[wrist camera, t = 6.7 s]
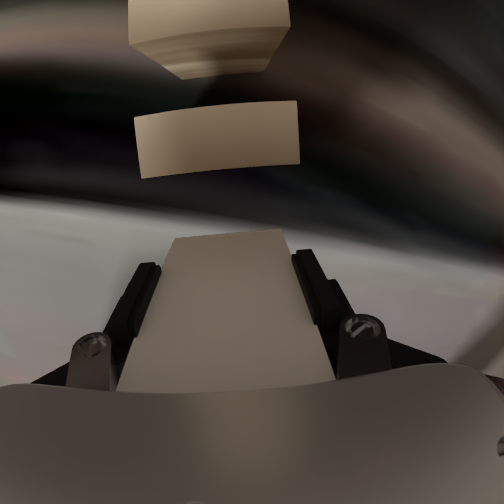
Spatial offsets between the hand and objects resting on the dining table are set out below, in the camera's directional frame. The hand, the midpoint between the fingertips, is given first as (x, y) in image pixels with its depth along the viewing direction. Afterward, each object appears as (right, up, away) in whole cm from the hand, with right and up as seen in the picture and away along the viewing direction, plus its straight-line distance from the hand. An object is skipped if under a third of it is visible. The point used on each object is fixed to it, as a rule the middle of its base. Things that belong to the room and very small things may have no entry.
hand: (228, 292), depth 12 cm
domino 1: (-1, +13, +4) cm, 14 cm away
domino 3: (0, +2, +3) cm, 3 cm away
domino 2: (-1, +9, +6) cm, 11 cm away
